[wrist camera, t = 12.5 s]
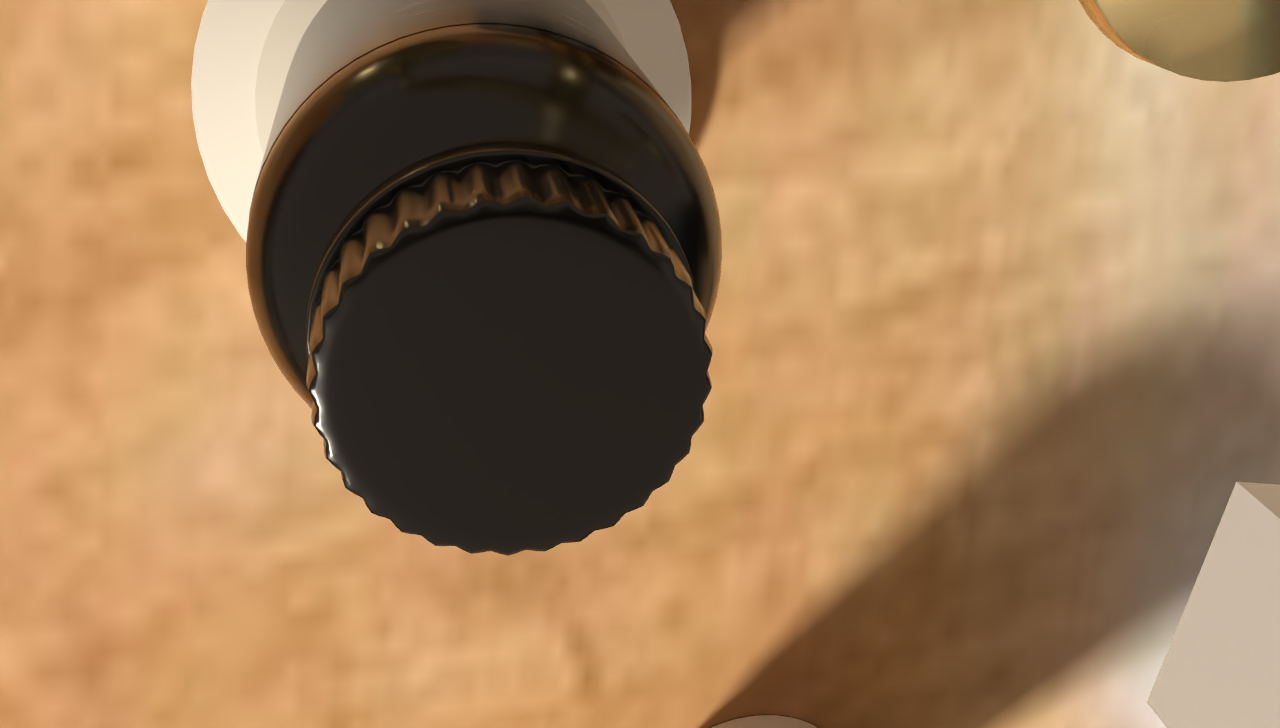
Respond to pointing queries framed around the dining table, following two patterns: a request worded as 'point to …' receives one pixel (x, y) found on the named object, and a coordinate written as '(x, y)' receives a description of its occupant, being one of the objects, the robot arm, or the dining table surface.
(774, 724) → the coffee cup
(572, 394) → the supplement bottle
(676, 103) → the dish
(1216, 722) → the robot arm
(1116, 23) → the balance
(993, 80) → the dining table surface
